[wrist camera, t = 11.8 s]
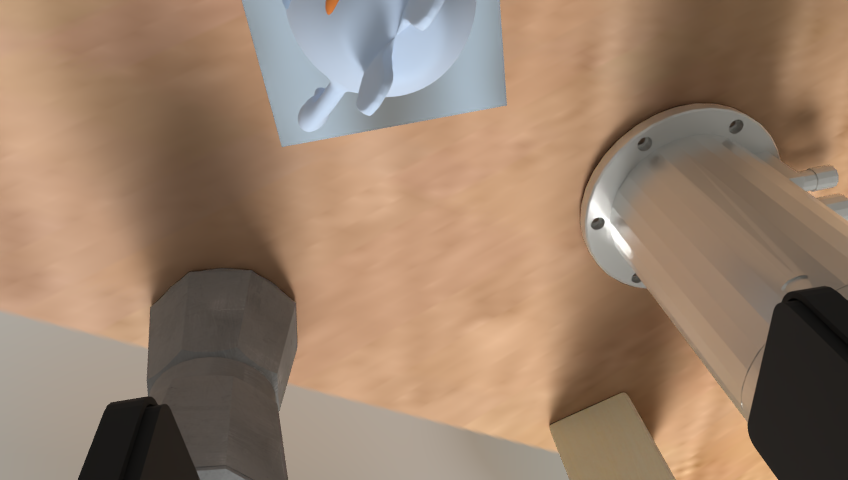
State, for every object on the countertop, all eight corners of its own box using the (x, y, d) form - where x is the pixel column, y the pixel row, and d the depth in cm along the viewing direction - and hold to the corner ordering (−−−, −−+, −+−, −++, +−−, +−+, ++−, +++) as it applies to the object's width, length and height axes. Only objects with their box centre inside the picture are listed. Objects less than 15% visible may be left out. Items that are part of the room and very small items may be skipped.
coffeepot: (98, 270, 38) (-42, 558, 23) (248, 214, 38) (208, 469, 22) (224, 436, 46) (183, 728, 31) (349, 392, 46) (369, 666, 31)
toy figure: (370, -222, 22) (413, -282, 12) (514, -110, 24) (652, -79, 14) (234, 49, 26) (177, 179, 16) (369, 124, 28) (396, 280, 18)
